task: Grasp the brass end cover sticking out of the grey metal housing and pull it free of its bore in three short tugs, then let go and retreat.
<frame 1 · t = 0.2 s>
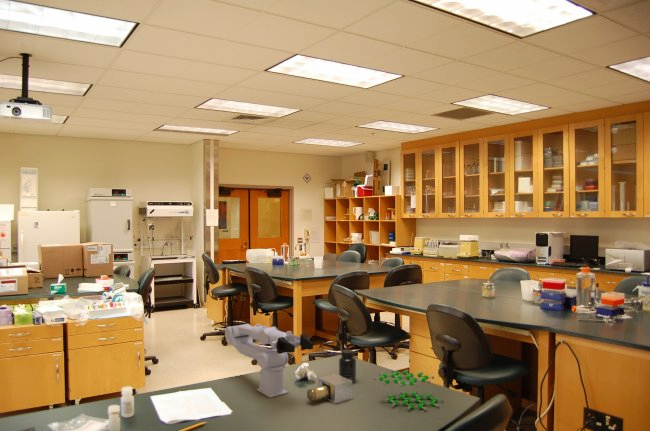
hand: (303, 347, 168), 21 cm above the table, tool horizontal, fingers open, 7 cm apart
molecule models: (408, 402, 175), on the table
end cover: (323, 391, 176), point 3 cm above the table, slide at 0.0 cm
supplement bottle: (347, 381, 196), on the table
housing: (335, 396, 179), on the table
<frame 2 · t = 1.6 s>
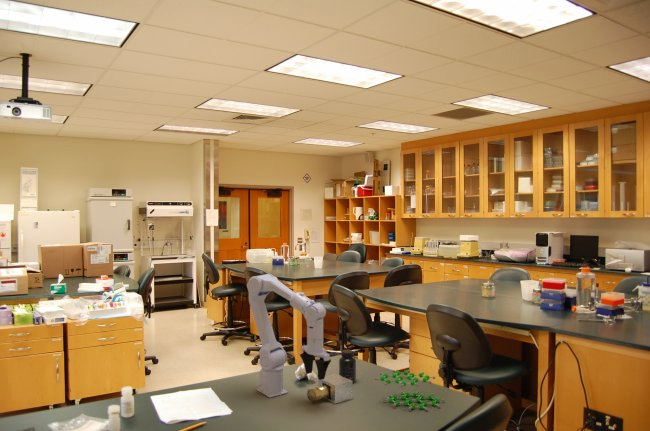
hand: (315, 376, 174), 9 cm above the table, tool pointing down, fingers open, 7 cm apart
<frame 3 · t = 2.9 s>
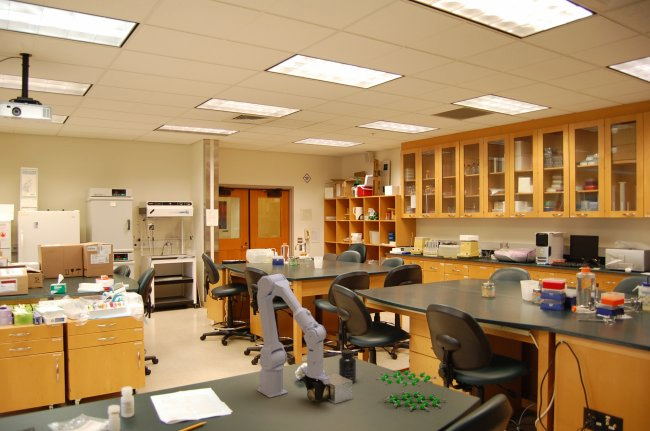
hand: (315, 398, 174), 1 cm above the table, tool pointing down, fingers closed on end cover, 4 cm apart
end cover: (323, 391, 176), point 3 cm above the table, slide at 0.0 cm, touching gripper
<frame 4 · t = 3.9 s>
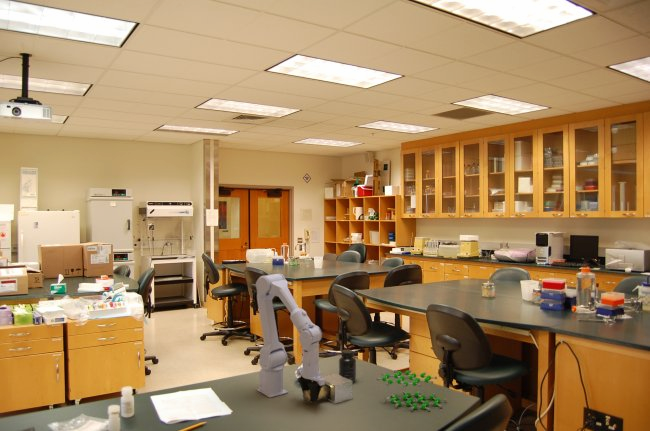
hand: (310, 399, 173), 1 cm above the table, tool pointing down, fingers closed on end cover, 4 cm apart
end cover: (318, 393, 175), point 3 cm above the table, slide at 1.8 cm, touching gripper
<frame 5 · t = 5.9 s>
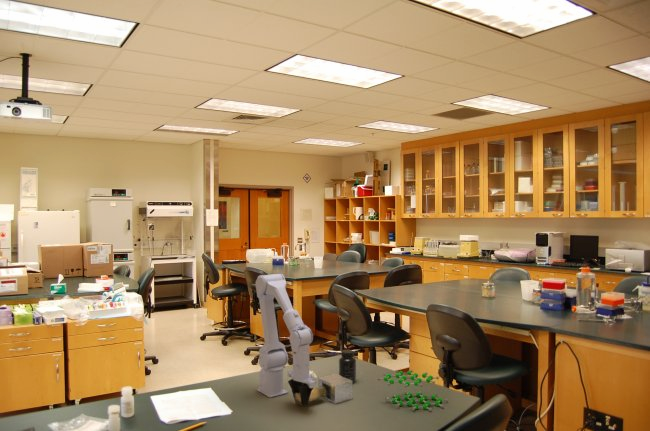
hand: (301, 402, 170), 1 cm above the table, tool pointing down, fingers closed on end cover, 4 cm apart
end cover: (310, 395, 173), point 3 cm above the table, slide at 5.5 cm, touching gripper
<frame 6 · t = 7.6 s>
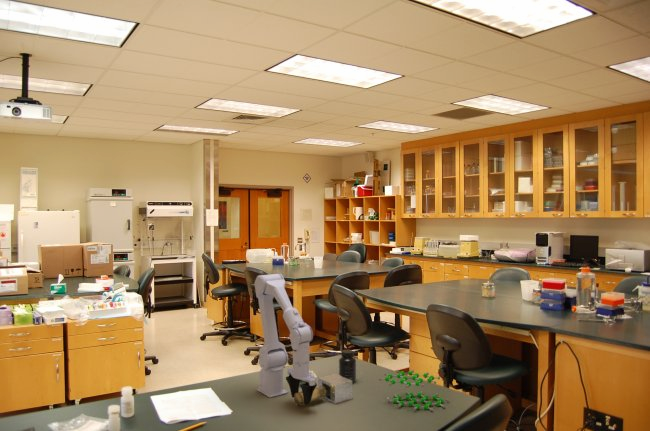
hand: (300, 400, 170), 2 cm above the table, tool pointing down, fingers open, 7 cm apart
end cover: (310, 395, 173), point 3 cm above the table, slide at 5.5 cm
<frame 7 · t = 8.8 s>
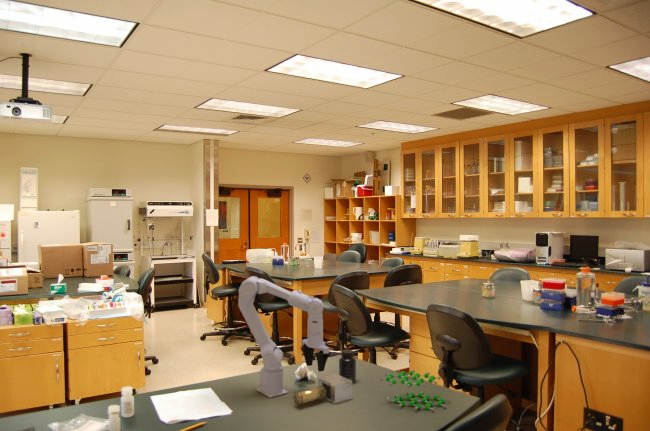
hand: (315, 368, 182), 9 cm above the table, tool pointing down, fingers open, 7 cm apart
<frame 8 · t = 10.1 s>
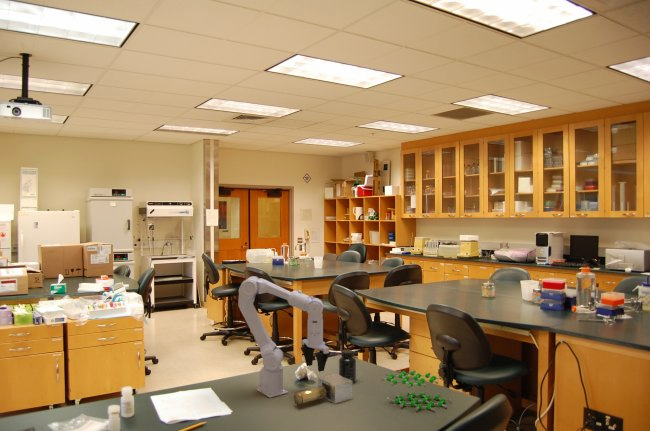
hand: (315, 368, 182), 9 cm above the table, tool pointing down, fingers open, 7 cm apart
at the end: end cover slide at 5.5 cm; the gripper is holding nothing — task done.
